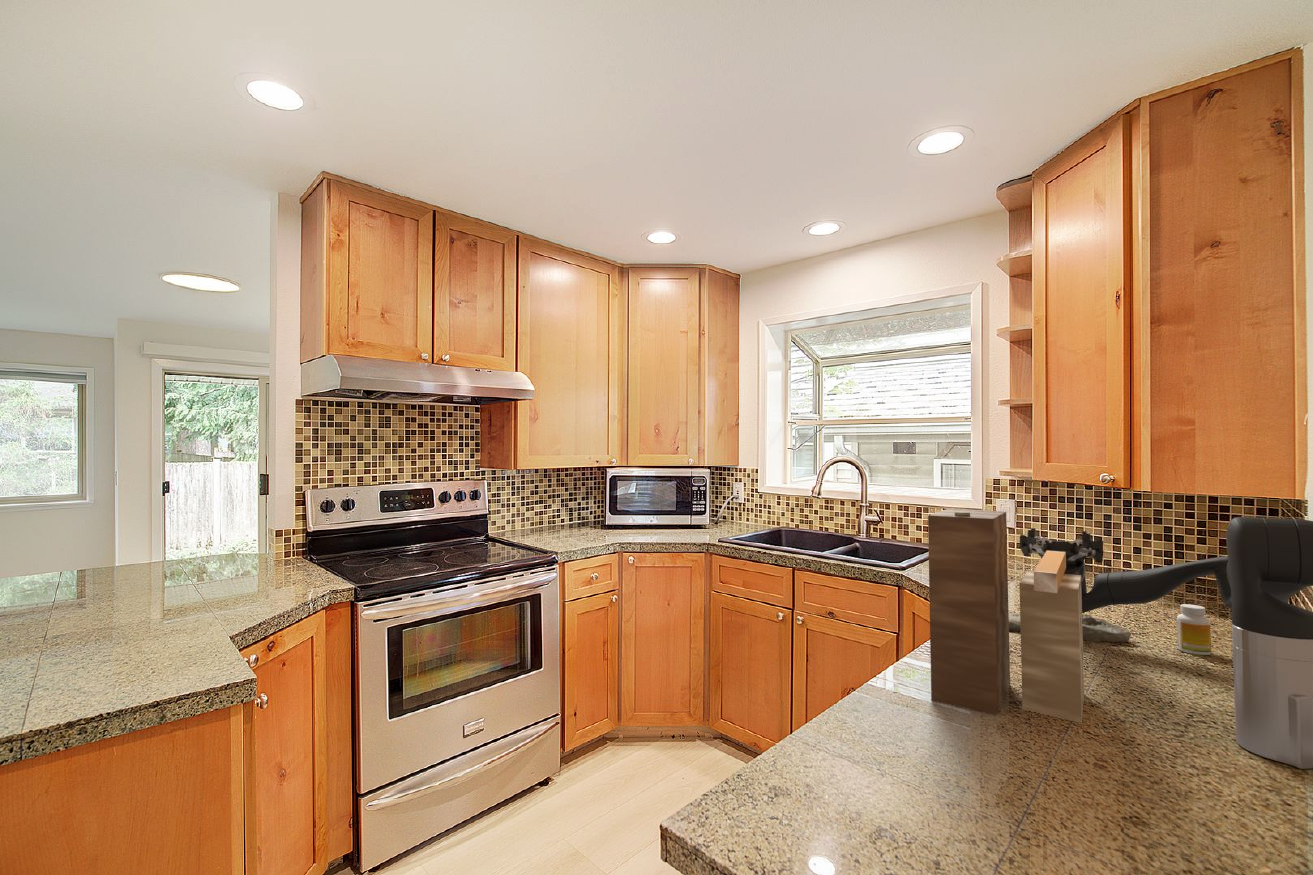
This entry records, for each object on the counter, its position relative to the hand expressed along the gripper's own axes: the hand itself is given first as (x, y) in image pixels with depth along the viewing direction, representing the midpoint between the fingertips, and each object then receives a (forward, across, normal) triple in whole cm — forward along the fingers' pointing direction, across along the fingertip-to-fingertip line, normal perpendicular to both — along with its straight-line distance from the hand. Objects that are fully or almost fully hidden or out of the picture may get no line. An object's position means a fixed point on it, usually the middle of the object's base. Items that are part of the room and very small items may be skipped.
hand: (1058, 533), depth 118 cm
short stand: (+3, 0, +33) cm, 33 cm away
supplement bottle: (-40, +22, +8) cm, 46 cm away
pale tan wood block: (+13, 0, +14) cm, 19 cm away
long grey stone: (-38, -6, +9) cm, 40 cm away
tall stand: (+7, -12, +35) cm, 38 cm away
